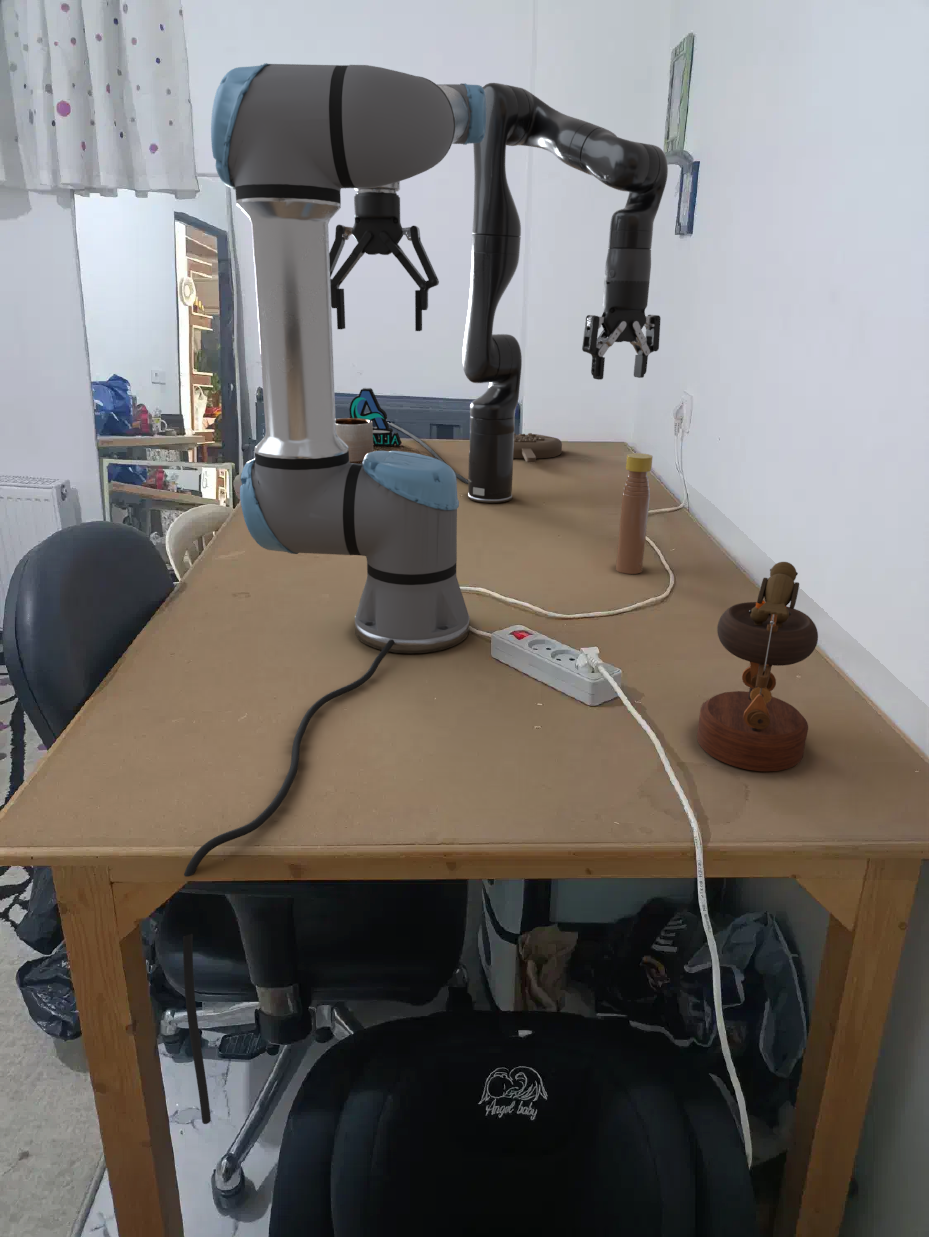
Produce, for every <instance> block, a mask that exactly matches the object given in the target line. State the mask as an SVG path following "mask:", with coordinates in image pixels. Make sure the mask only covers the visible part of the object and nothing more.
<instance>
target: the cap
mask: <svg viewBox="0 0 929 1237" xmlns="http://www.w3.org/2000/svg"><path fill="white" fill-rule="evenodd" d="M625 461H626V463H625V470H626V471H628V472H629V471H634V472H647V473H648V472H651V471H652V467H653V455H651V454H649V453H642V452H640V453H639V452H633V453H632V452H631V453H628V454H626V460H625Z"/></svg>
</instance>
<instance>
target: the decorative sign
mask: <svg viewBox="0 0 929 1237" xmlns="http://www.w3.org/2000/svg"><path fill="white" fill-rule="evenodd" d="M366 408H367V409H368V410H369V411H368V412H365V411H366ZM348 411H349V418H362V419H368V420H371V421H372V422H374V424H375V426H373V446H381V447H382V446H385V447H390V446H391V447H394V446H396V447H400V446H401V445H402V440H401V437H400V435H399V433H398V432H397V431H395V432H394V429H393V427H390V425H389V424H388V423H387V421H386V420H387V418H388V414H387V412H386V411H385V410H384V409H383V408H382V407H381V406H380V404H379V401H378V399H377V397H376V395H375V392H374V389H373V388H371V387H362V388H361V389H360V390H359V394H358V395H356V396H355V397H354V398H353V399H352V400H351V402H350V405H349V410H348ZM393 432H394V433H393Z"/></svg>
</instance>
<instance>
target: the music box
mask: <svg viewBox="0 0 929 1237" xmlns="http://www.w3.org/2000/svg"><path fill="white" fill-rule="evenodd" d="M798 574H799V572H797V569H796V567H795V566H794V565H793V564H792V563H791V562H788V561H779V562H777V563H775V564H774V565H773V566H772V567H771V568H769V575H770V576H769V577H763V578H762V581H761V585H760V588H759V592H758V596H757V600H756V601H747V602H740V603H737V604H734V605H732V606H730V607H728V608H727V609H725V611H723V612H722V614H721V615H720V617H719V620H718V622H717V628H716V632H717V637H718V640H719V641H720V644H721V645H722V646H723V648H724V649H725V650H726V651H727V652H728V653H730V654H731V655H733V656H735V657H736V658H738V659H741V660H743V661H747V662H749V666H747V667H746V668H745V669H744V670H743V672H742V673H741V678H742V679H741V680H742V683H743V684H744V685H745V686H746V687H748V688H749V689H748V691H745V690H744V691H743V690H739V691H737V690H735V691H734V690H733V691H725V692H722V693H719V694H716V695H714V696H712V697H711V698H708V699H707V700H705V701H704V702H703V703H702V705H701V706H700V709H699V710H700V711H699V718H698V724H697V732H696V739H697V742H698V744H699V746H700V748H702V750H703V751H704V752H706V753H707V754H708V755H710V756H711V757H712V758H714V759H716V760H718V761H719V762H722V763H724V764H726V765H729V766H731V767H732V766H733V767H736V768H739V769H743V770H748V771H753V772H754V771H755V772H778V771H783V770H787V769H791V768H792V767H794V766H795V767H796V765H798V764H799V763H800V762H801V761H802V759H803V757H804V752H805V747H806V742H807V737H808V732H809V724H808V721H807V720H806V718H805V716H803V715H802V714H801V712H800V711H799V710H798V709H797V708H796V707H795V706H794V705H792V704H790V703H788V702H786V701H784V700H783V699H781V698H778V697H774V696H772V691H773V690H774V689H775V687H776V685H777V679H776V676H775V675H774V674H773V673H772V671H771V670H772V668H773V667H774V666H777V667H779V666H790V665H795V664H797V663H800V662H802V661H804V660H806V659H808V658H809V657H810V656H811V655H812V654H813V653H814V651H815V649H816V647H817V645H818V641H819V631H818V628H817V626H816V624H815V622H814V621H813V619H812V618H811V617H810V616H809V615H807V614H806V613H805V612H803V611H801V610H799V609H796V608H795V606H796V603H797V598H798V595H799V588H800V583H799V582H797V581H796V578H797V576H798ZM788 605H789V606H788Z"/></svg>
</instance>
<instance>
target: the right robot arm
mask: <svg viewBox="0 0 929 1237" xmlns="http://www.w3.org/2000/svg"><path fill="white" fill-rule="evenodd" d="M482 87H483V88H484V91H485V95H486V130H485V137H484V139H483V141H482V142H480V143H472V144H473V172H474V174H473V176H474V177H473V178H474V182H473V183H474V186H473V189H474V190H473V216H472V217H473V218H472V230H471V246H470V247H471V248H470V249H471V250H470V251H471V252H470V278H469V279H470V280H469V294H468V296H469V297H468V306H467V313H466V321H465V329H464V335H463V344H462V357H461V358H462V359H461V360H462V368H463V372H464V375H465V376H466V378H467V380H468V381H469V382H471V383H473V384H488V387H487V389H486V390H485V392H484V393H483V394H482V395H480V396H478V397H477V398H475V399H473V400H472V402H470V405H469V443H468V444H469V446H468V447H469V451H468V476H467V477H468V478H465V477H464V476H463V475H461V474H460V473H458V472H456V470H455V469H453V471H454V473H455V475H456V479H458V480H459V481H461V482H462V483H464V484H465V485H467V498H468V499H469V500H470V501H473V502H478V503H484V504H500V503H506V502H509V501H511V500H512V499H513V472H514V471H513V470H514V458H513V448H514V433H515V420H516V416H515V415H516V409H517V406H518V403H519V398H520V388H521V378H522V377H521V376H522V366H523V364H522V362H523V355H522V349H521V345H520V343H519V341H518V339H517V338H516V337H515V336H513V335H512V334H508V333H495V334H494V333H493V329H494V322H495V316H496V311H497V308H498V306H499V303H500V301H501V299H502V297H503V295H504V294H505V292H506V291H507V288H508V287H509V285H510V283H511V282H512V280H513V277H514V276H515V274H516V272H517V269H518V266H519V262H520V254H521V238H522V237H521V236H522V224H521V223H522V222H521V219H520V215H519V212H518V209H517V206H516V203H515V201H514V197H513V195H512V192H511V189H510V186H509V183H508V179H507V170H506V169H507V168H506V156H507V155H506V154H507V152H506V151H507V146H508V147H518V146H523V147H530V148H537V149H542V150H545V151H547V152H549V153H551V154H553V156H555V157H556V159H558V160H559V161H560V162H562V163H563V164H565V165H567V166H568V167H571V168H573V169H575V170H577V171H580V172H582V173H584V174H586V175H590V176H593V177H594V178H596V179H597V180H598V181H600V182H601V183H602V184H603V185H605V186H607V187H609V188H611V189H614V190H617V191H620V192H627V193H628V196H627V200H626V203H625V206H624V208H621V209H618V210H616V211H614V213H613V214H612V215H611V218H610V225H609V233H608V235H609V236H608V246H607V255H606V260H605V267H604V278H603V279H604V281H603V293H602V304H601V305H602V308H603V311H602V315H601V316H598V315H594V314H588V315H587V316H585V320H584V330H583V338H582V344H581V345H582V347H581V350H582V352H584V353H587V354H589V355H590V356H591V369H590V373H591V376H592V378H593V379H594V380H598V381H599V380H600V381H601V380H603V379H604V375H605V363H606V362H605V360H606V357H605V354H606V353H607V351H608V350H609V349H610V348H611V347H612V346H613V345H614V344H615V343H623V342H625V343H626V342H627V343H629V344H630V345H632V346H633V349H634V350H635V353H636V354H635V355H634V366H633V377H634V378H639V379H641V378H642V379H643V378H644V377H645V375H646V373H647V368H648V359H649V355H650V354H651V353H653V352H658V351H659V348H660V335H661V334H660V333H661V315H658V314H647V315H646V313H645V312H646V309H647V307H648V302H649V292H650V282H651V281H650V280H651V273H652V272H651V271H652V245H653V234H654V222H655V219H656V216H657V213H658V211H659V209H660V204H661V201H662V198H663V195H664V192H665V188H666V184H667V180H668V174H669V165H668V158H667V156H666V153H665V152H664V151H663V150H662V148H661V147H659V146H657V145H654V144H650V143H643V142H638V141H633V140H629V139H625V138H622V137H619V136H617V135H616V134H615V132H612V131H611V130H609V129H607V128H605V127H602V126H599V125H596V124H594V123H591V122H588V121H585V120H582V119H579V118H577V117H574V116H570V115H567V114H565V113H563V112H560V111H558V110H556V109H555V108H553V107H551V106H550V105H549V104H547V103H545V101H543V100H542V99H540V98H539V97H538V96H536V95H535V94H533V93H532V92H530V91H529V90H527V89H525V88H523V87H518V86H514V85H508V84H504V83H499V82H489V83H486V84H485V85H484V86H482ZM601 327H602V331H601V332H600V334H599V329H600V328H601ZM644 327H645V334H644V331H643V330H642V329H643V328H644ZM387 423H388V425H389V427H391V428H394V429H396V430H398V431H400V432H402V433H403V434H404V435H407V436H409V437H410V438H411V439H413V440H414V441H416V442H417V443H418V444H420V445H421V446H422V447H423V448H425V449H426V450H427V451H428V453H429V454H431V455H432V456H433V458H435V459H438V460H440V461H442V462H444V463H446V461H445V460H444V459H442V457H440V455H439V454H437V453H436V452H435V450H434V449H432V448H431V447H430V446H429V445H427V443H426V442H424V441H423V440H422V439H420V438H419V437H417V436H416V435H414V434H413V433H411V432H410V431H409V430H407V429H404V428H403V427H401V426H399V425H397V424H395V423H393V422H391V423H389V422H387ZM446 464H447V465H449V464H448V463H446Z"/></svg>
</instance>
